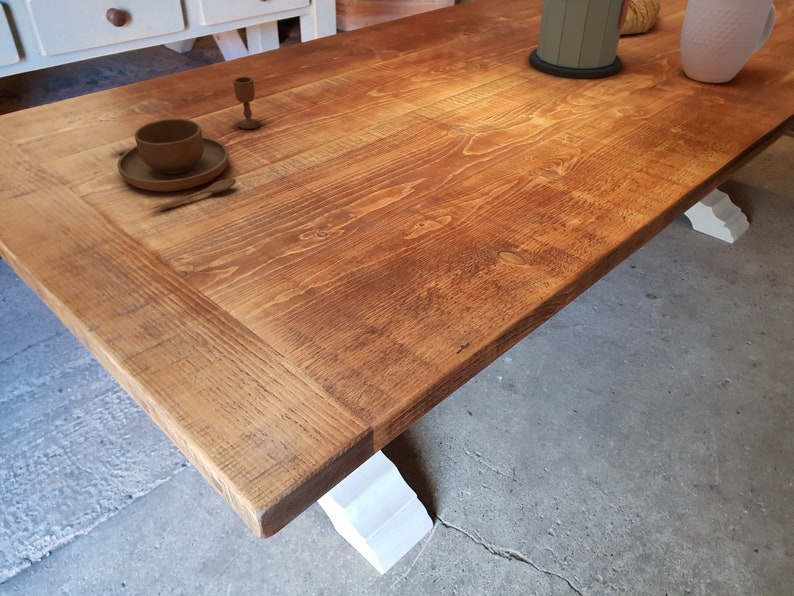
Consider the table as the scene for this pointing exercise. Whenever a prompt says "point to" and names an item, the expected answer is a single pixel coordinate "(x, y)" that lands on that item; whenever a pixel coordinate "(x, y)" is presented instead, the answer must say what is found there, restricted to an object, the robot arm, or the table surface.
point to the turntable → (573, 72)
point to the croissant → (640, 16)
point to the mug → (723, 36)
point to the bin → (581, 32)
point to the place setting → (182, 153)
